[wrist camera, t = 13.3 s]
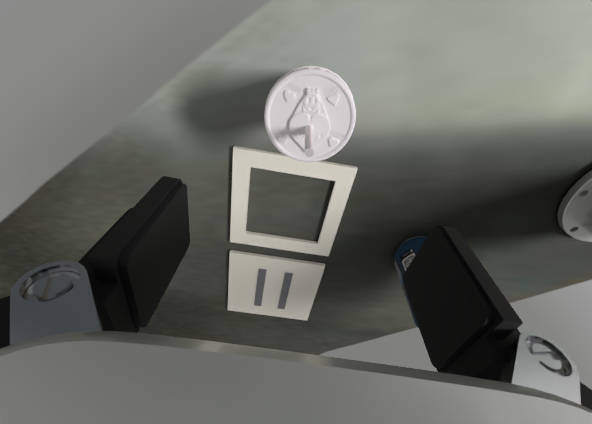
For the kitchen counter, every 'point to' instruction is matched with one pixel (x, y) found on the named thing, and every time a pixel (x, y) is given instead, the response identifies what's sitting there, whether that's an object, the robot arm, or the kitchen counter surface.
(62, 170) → the kitchen counter surface
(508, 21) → the kitchen counter surface
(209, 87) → the kitchen counter surface
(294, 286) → the pads
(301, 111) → the smoothie
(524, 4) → the kitchen counter surface
